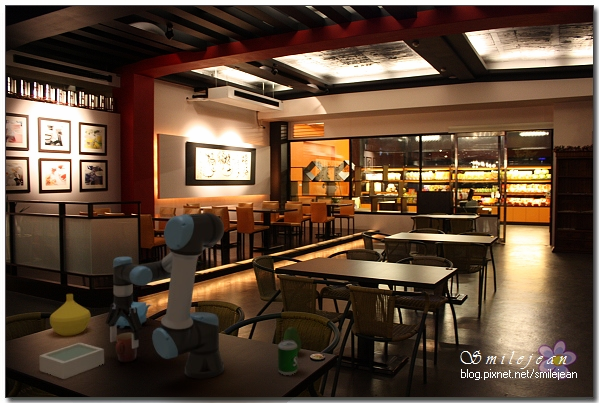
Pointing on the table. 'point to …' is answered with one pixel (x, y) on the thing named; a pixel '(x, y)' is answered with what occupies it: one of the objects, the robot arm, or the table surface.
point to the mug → (125, 347)
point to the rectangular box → (71, 360)
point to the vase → (70, 318)
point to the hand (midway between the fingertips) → (124, 344)
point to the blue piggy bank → (141, 311)
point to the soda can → (287, 357)
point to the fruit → (293, 337)
